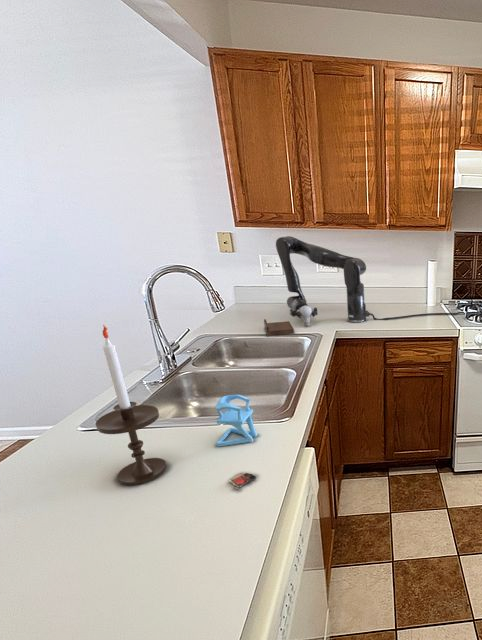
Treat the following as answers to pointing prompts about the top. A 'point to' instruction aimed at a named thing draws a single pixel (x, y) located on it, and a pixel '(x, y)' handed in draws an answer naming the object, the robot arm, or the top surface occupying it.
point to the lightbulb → (306, 314)
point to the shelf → (278, 328)
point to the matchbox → (242, 479)
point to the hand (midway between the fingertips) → (306, 315)
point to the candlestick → (129, 425)
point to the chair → (235, 420)
